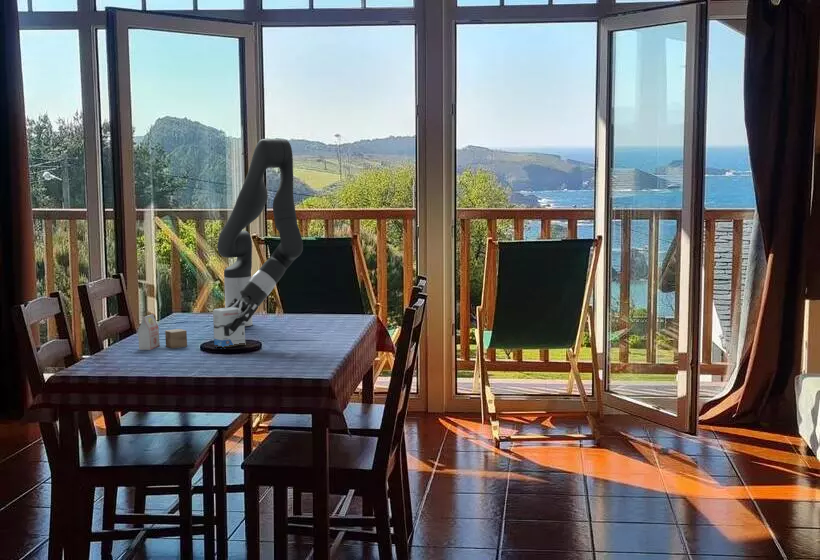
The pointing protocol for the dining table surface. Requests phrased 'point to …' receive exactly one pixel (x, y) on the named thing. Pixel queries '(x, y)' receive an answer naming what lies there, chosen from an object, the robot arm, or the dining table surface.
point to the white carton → (148, 333)
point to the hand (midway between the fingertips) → (225, 328)
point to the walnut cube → (176, 338)
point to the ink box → (227, 327)
